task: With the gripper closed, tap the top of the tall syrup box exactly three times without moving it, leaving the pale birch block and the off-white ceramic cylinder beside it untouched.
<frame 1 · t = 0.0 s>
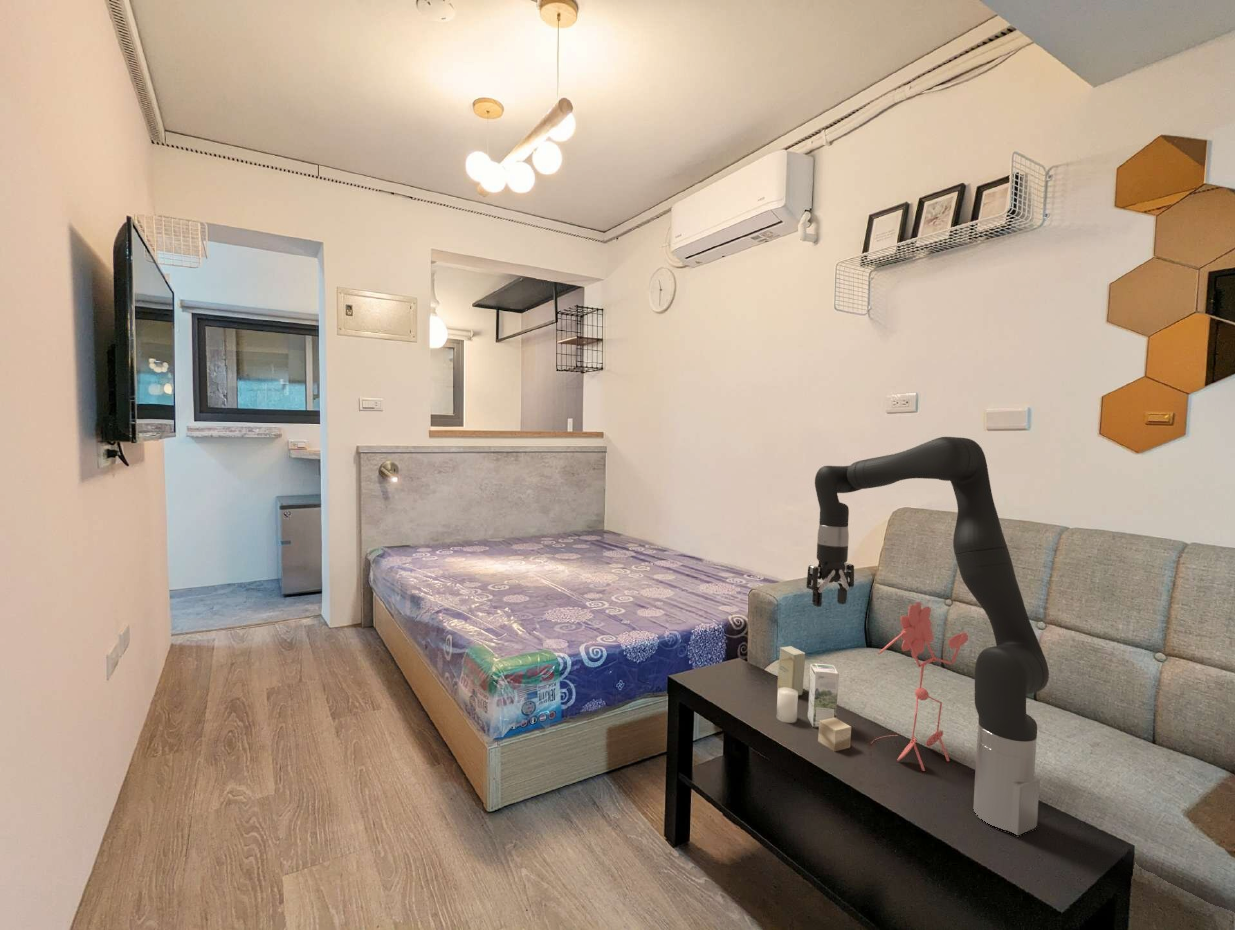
hand: (829, 604, 150), 29 cm above the table, tool pointing down, fingers open, 8 cm apart
skincare box: (790, 692, 165), on the table
ceramic cylinder: (786, 718, 148), on the table
birch block: (833, 744, 136), on the table
pink stick figure: (908, 752, 134), on the table
syrup box: (821, 724, 146), on the table
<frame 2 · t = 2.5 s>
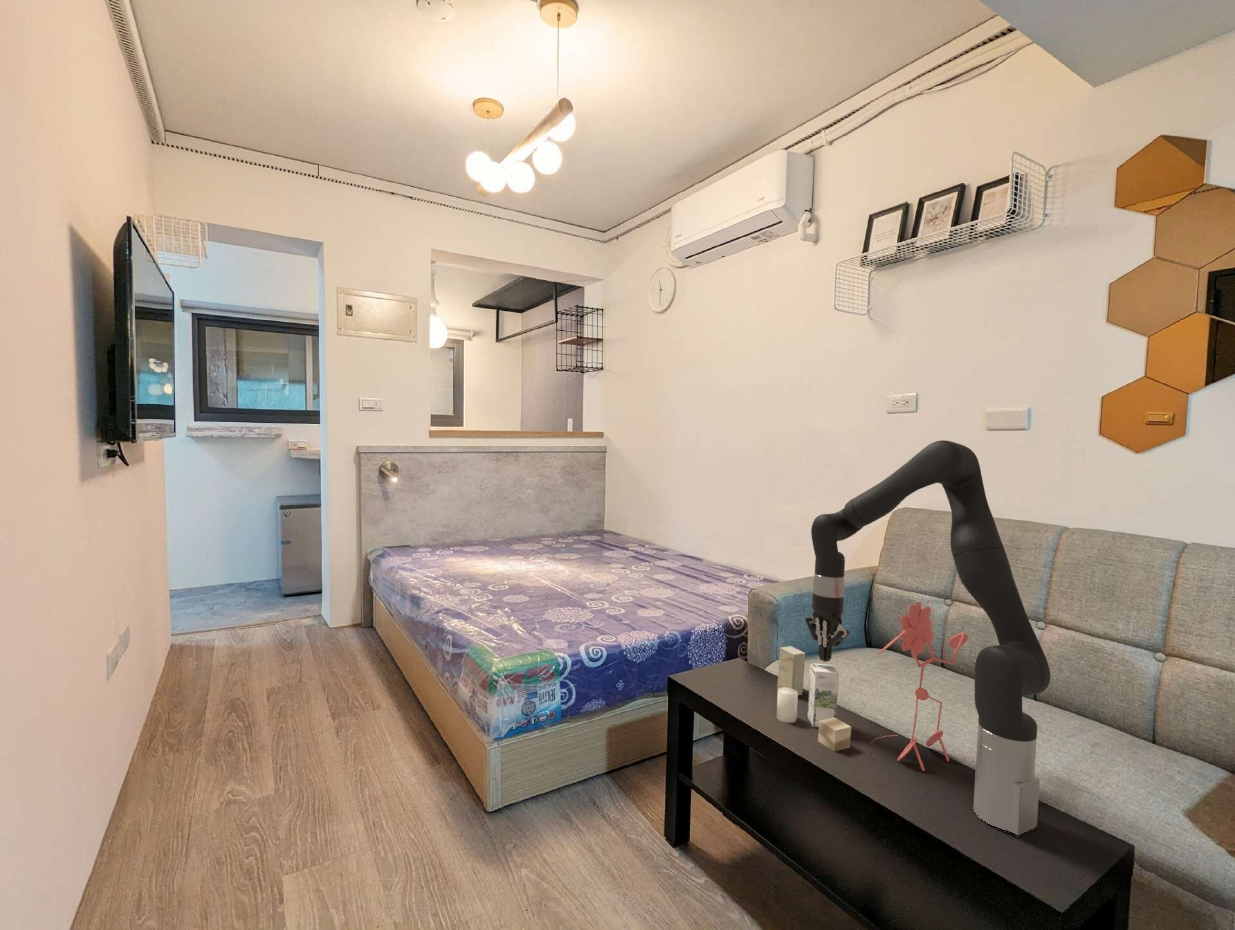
hand: (824, 660, 146), 16 cm above the table, tool pointing down, fingers closed
nothing on the table moved.
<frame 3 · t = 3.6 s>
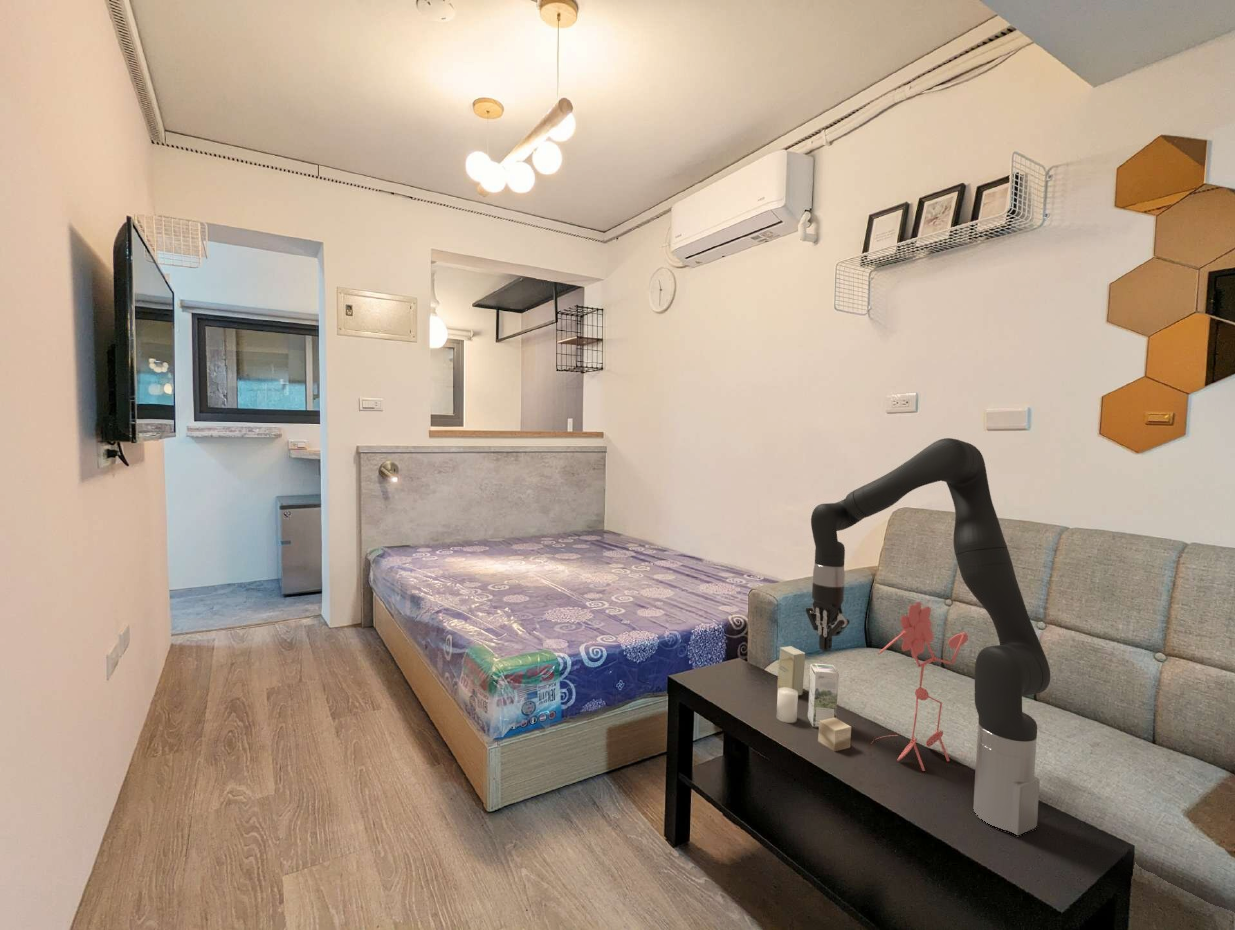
hand: (825, 650, 145), 19 cm above the table, tool pointing down, fingers closed
nothing on the table moved.
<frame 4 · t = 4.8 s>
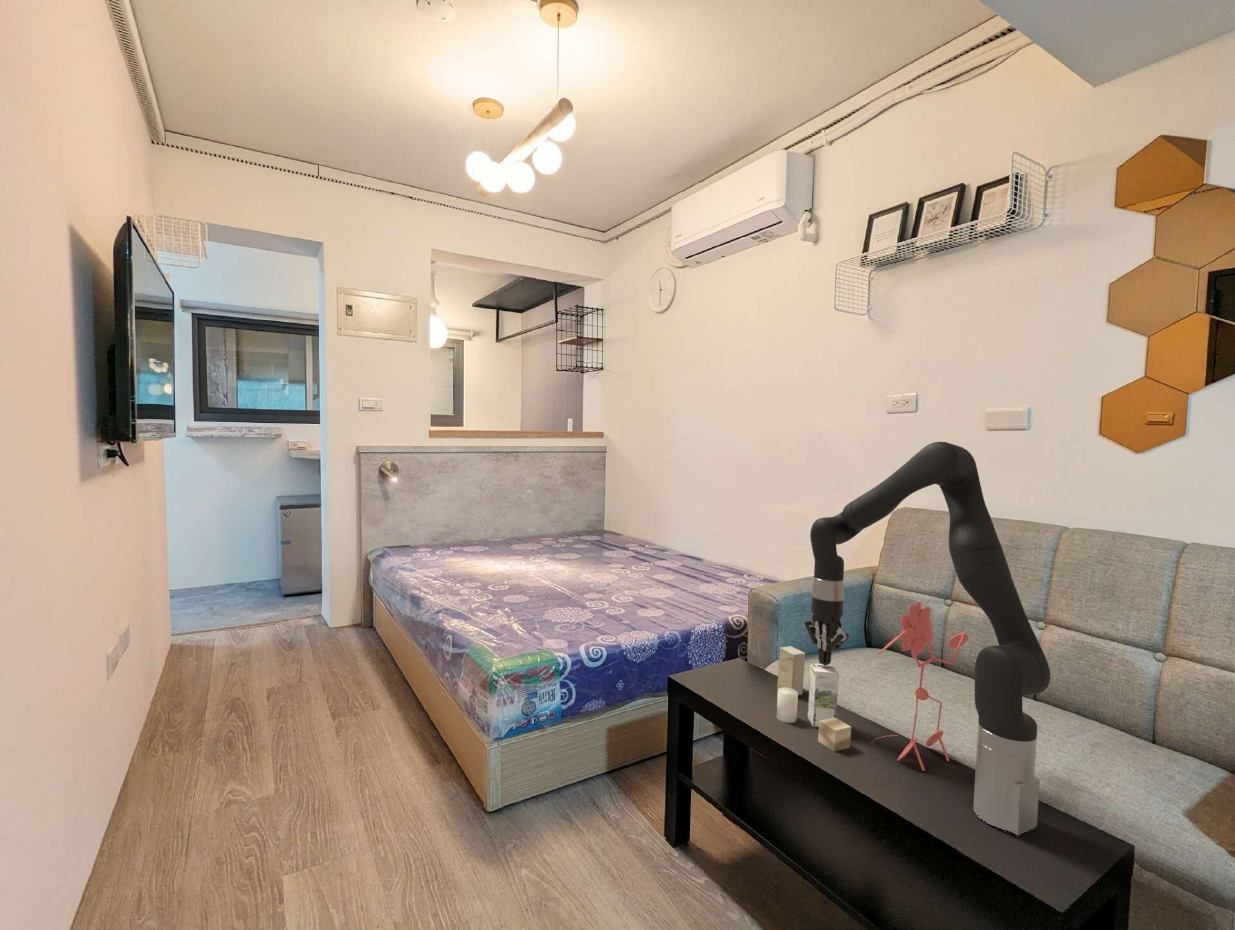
hand: (824, 663, 146), 15 cm above the table, tool pointing down, fingers closed
nothing on the table moved.
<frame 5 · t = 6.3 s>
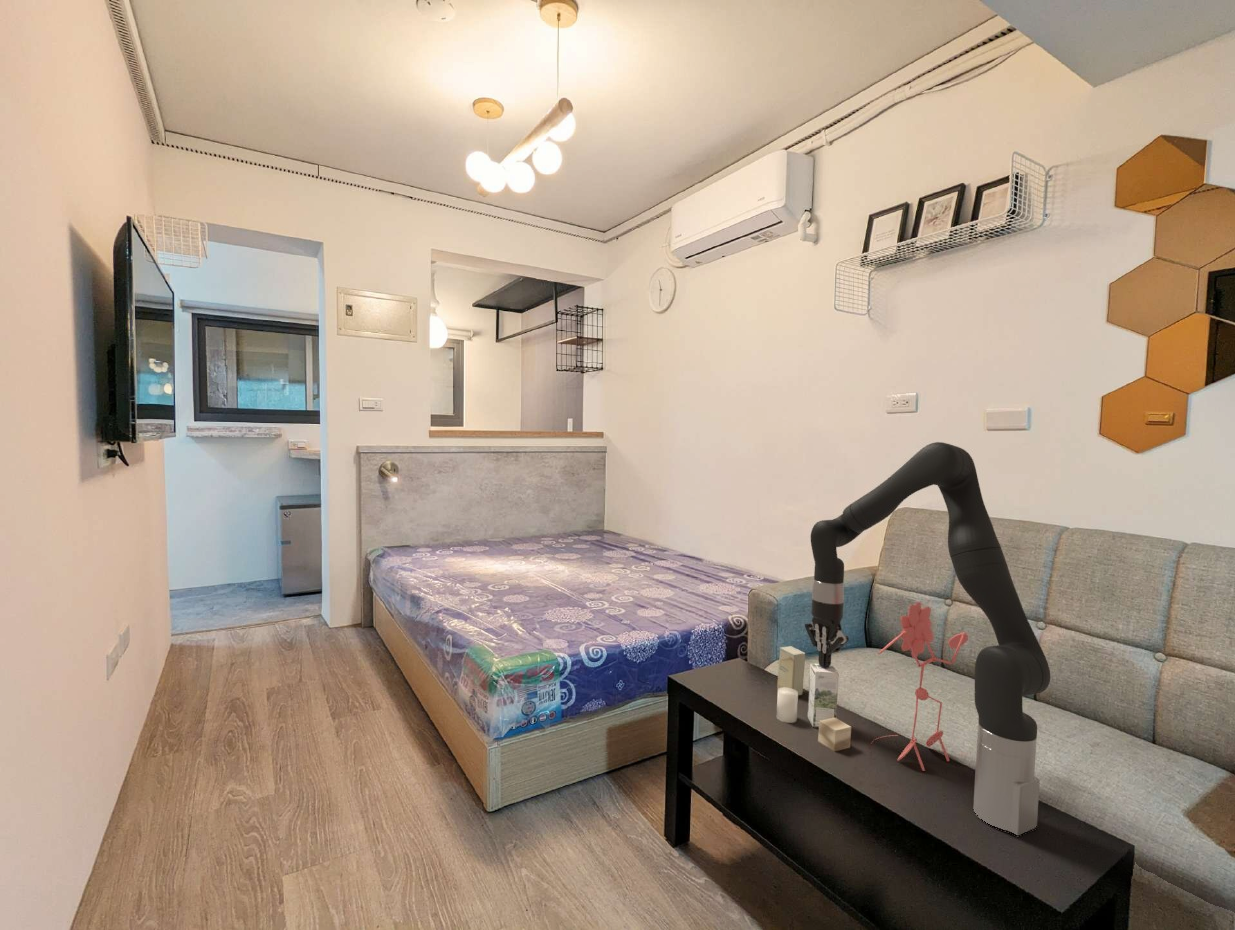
hand: (824, 666, 146), 15 cm above the table, tool pointing down, fingers closed
nothing on the table moved.
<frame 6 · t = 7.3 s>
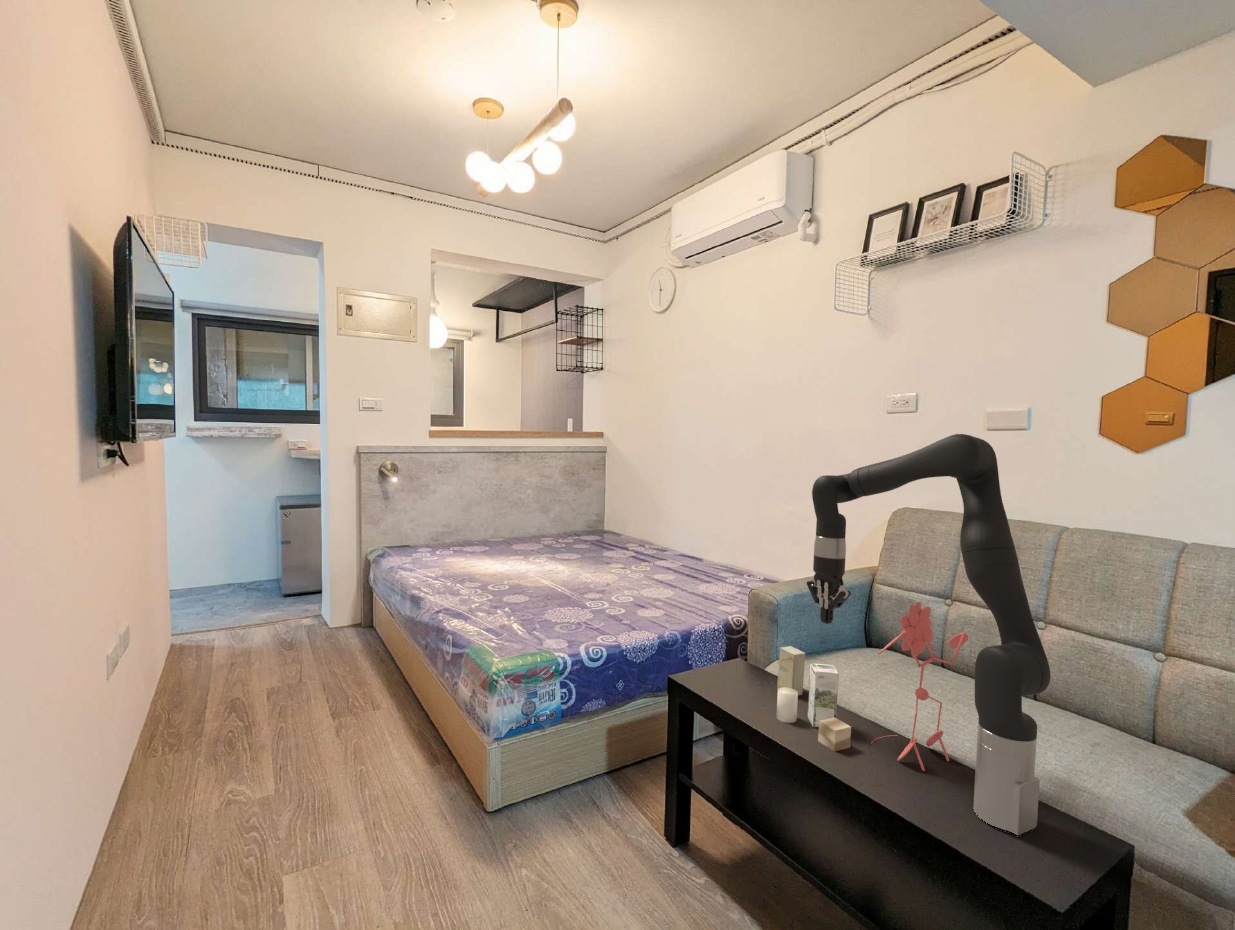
hand: (826, 622, 145), 26 cm above the table, tool pointing down, fingers closed
nothing on the table moved.
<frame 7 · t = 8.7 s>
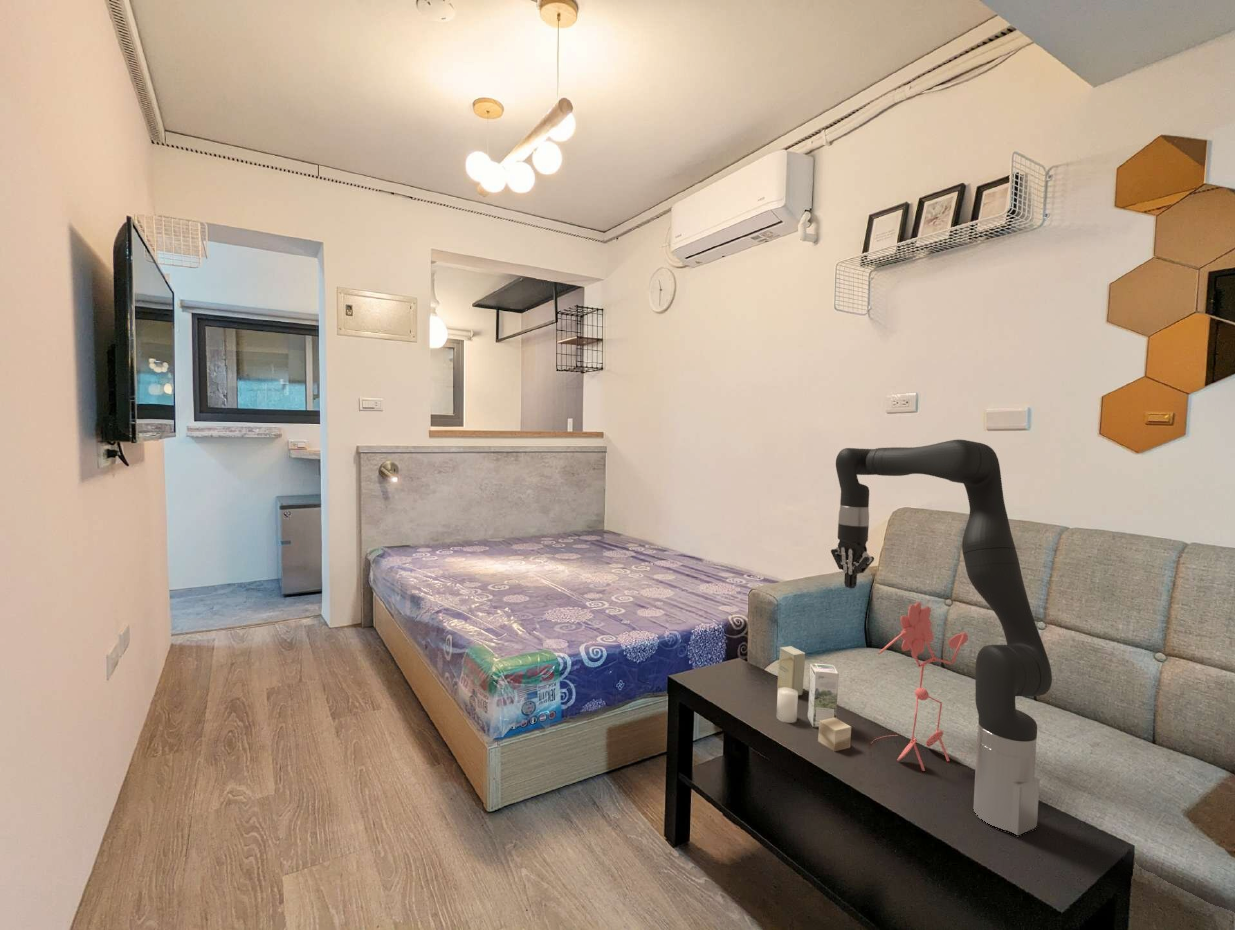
hand: (850, 587, 154), 33 cm above the table, tool pointing down, fingers closed
nothing on the table moved.
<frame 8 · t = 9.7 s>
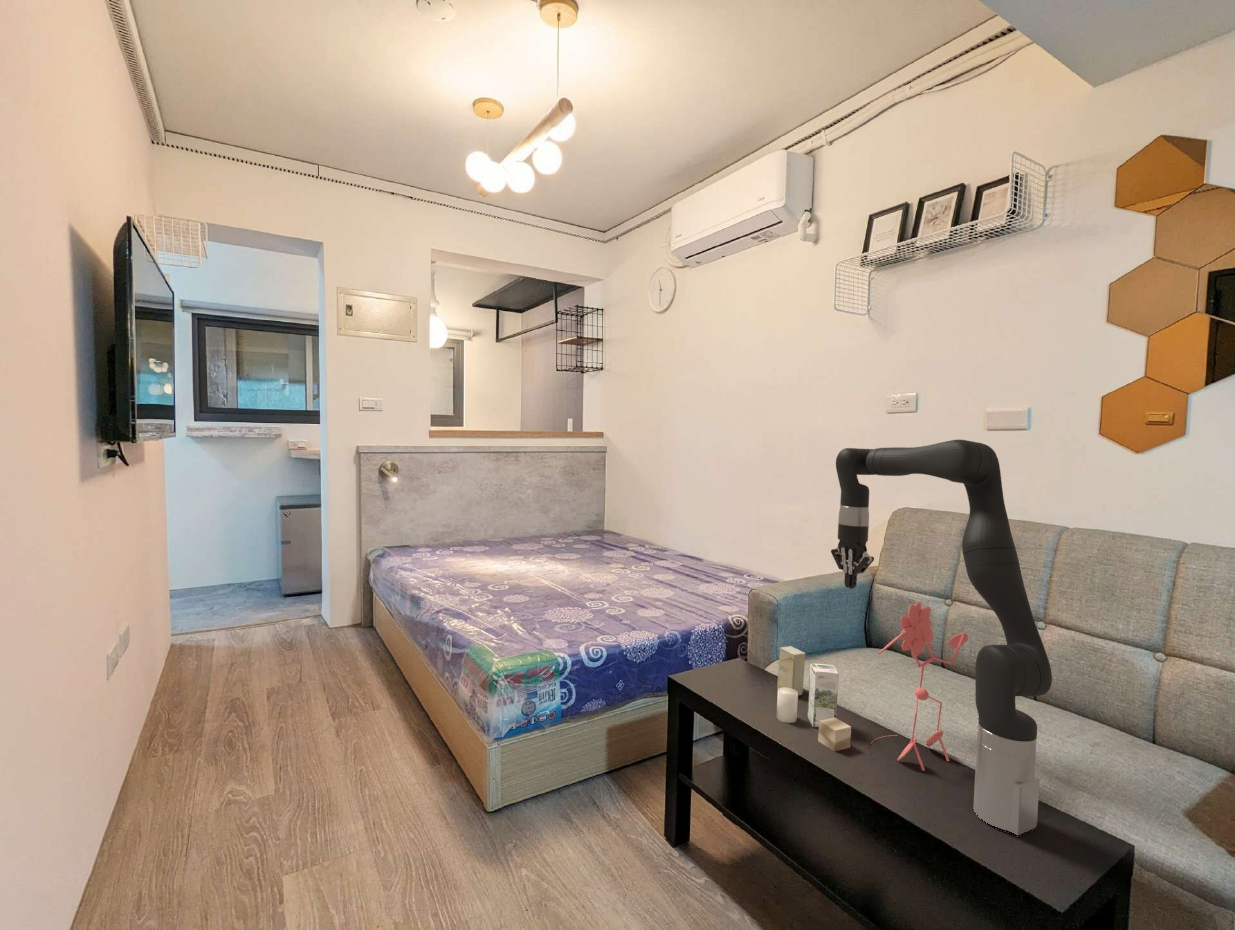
hand: (850, 587, 154), 33 cm above the table, tool pointing down, fingers closed
nothing on the table moved.
at the end: syrup box moved 0.2 cm from its start; syrup box tilted 0°; birch block moved 0.1 cm from its start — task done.
